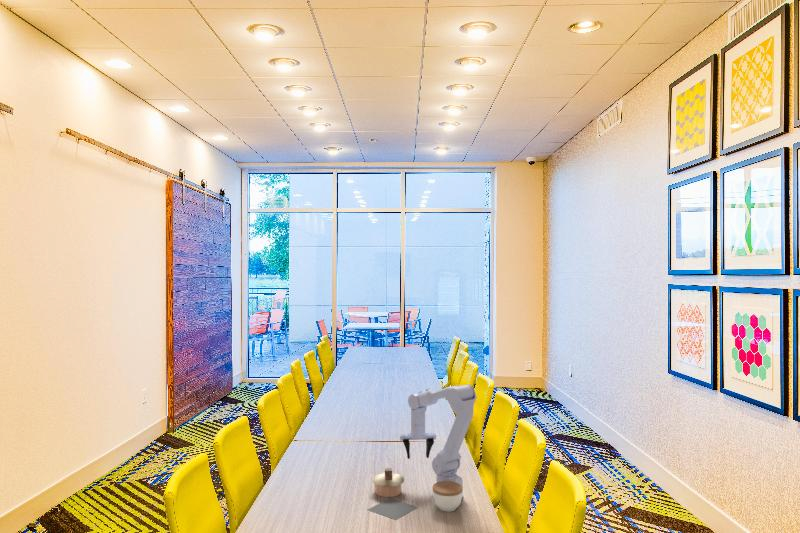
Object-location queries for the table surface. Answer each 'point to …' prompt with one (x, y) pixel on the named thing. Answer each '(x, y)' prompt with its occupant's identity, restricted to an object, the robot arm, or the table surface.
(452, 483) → the lidded jar
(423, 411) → the robot arm
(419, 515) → the table surface
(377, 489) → the bowl
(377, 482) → the lid
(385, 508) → the mat
